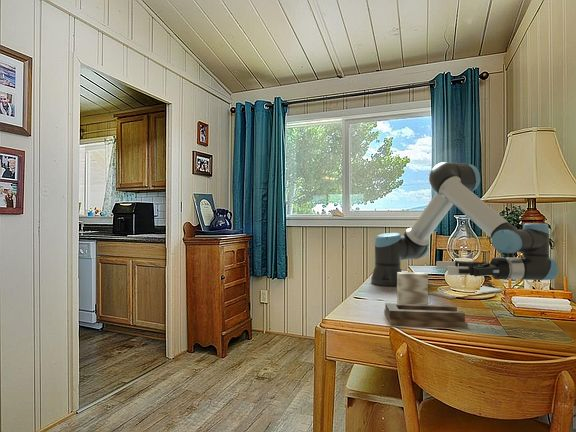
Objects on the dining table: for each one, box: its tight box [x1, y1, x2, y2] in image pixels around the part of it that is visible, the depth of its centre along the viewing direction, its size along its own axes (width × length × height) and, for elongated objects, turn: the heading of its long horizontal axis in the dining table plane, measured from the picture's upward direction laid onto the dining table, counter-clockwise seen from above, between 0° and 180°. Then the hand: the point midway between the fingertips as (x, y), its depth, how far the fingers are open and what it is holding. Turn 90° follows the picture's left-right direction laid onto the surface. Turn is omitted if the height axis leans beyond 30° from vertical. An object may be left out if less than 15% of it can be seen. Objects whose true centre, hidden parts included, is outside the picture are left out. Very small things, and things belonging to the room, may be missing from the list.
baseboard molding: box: [428, 283, 503, 300], centre depth 157 cm, size 31×3×12 cm
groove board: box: [383, 302, 469, 329], centre depth 118 cm, size 22×14×4 cm, turn 83°
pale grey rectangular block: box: [396, 271, 429, 305], centre depth 134 cm, size 10×4×12 cm, turn 83°
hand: (441, 267), depth 132 cm, fingers open, 13 cm apart
